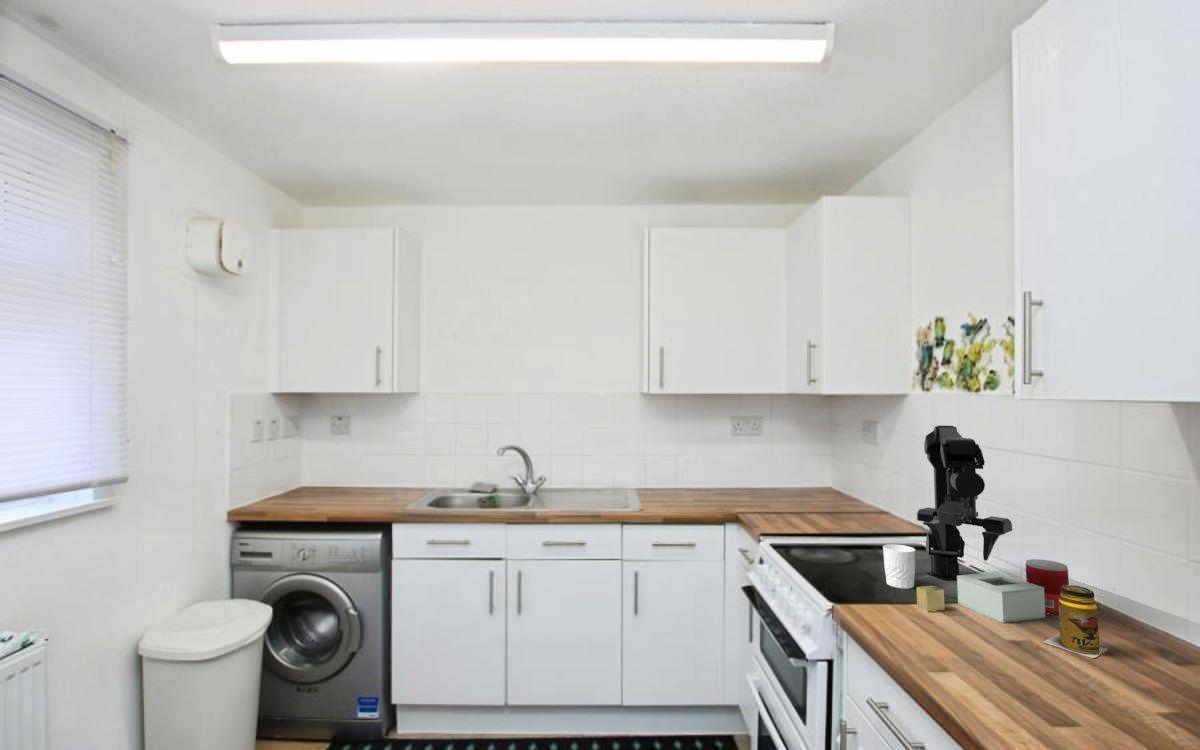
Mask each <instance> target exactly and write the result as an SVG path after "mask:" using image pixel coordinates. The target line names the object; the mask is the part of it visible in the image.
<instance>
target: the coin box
mask: <svg viewBox="0 0 1200 750" xmlns="http://www.w3.org/2000/svg"><path fill="white" fill-rule="evenodd" d="M956 583H957V584H956V585H957V586H956V589H957V604H958V605H959V606H962V607H964V608H966V609H968V610H971V611H973V612H975V613H978V614H980V615H983V616H986V617H988V618H990V619H993V620H995V621H997V622H1000V623H1003V624H1006V623H1008V624H1009V623H1015V622H1025V621H1033V619H1034V620H1042V619H1041V618H1043V619H1046V614H1045V597H1044V587H1041V586H1038V585H1035V584H1032V583H1029V582H1026V581H1025V580H1022V579H1019V578H1016V577H1014V576H1013V577H1012V576H1009V575H1008V574H1007V575H1006V574H1003V573H1000V572H997V571H994V572H985V573H984V572H982V573H971V574H959V575H958V576H957V579H956Z"/></svg>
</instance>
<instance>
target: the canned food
mask: <svg viewBox="0 0 1200 750" xmlns="http://www.w3.org/2000/svg"><path fill="white" fill-rule="evenodd" d="M1025 578H1026V581H1025V582H1029V583H1032V584H1035V585H1038V586H1041V587H1044V597H1045V613H1049V614H1048V615H1051V614H1054V615H1053V616H1059V599H1060V593H1061V590H1060V587H1061V586H1063V585H1070V583H1069V582H1070V581H1069V569H1068V565H1066V564H1064V563H1061V562H1057V561H1054V560H1047V559H1036V558H1034V559H1033V558H1032V559H1027V560H1026V559H1025Z"/></svg>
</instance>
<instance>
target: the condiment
mask: <svg viewBox="0 0 1200 750" xmlns="http://www.w3.org/2000/svg"><path fill="white" fill-rule="evenodd" d="M1060 590H1061V593H1060V599H1059V615H1058V617H1059V633H1056V634H1054V635H1053V636H1052V637H1050V638H1048V639H1045V640H1044V641H1042V643H1044V644H1048V645H1049V646H1054V647H1057V648H1059V649H1062V650H1066V651H1069V652H1071V653H1075V654H1078V655H1080V656H1084V657H1087V658H1091V659H1095V658H1098V657H1099V656H1101V655H1103V654H1104V653H1105V652H1106V651H1108V650H1109V649H1108V648H1106V647H1102V646H1101V645H1100V630H1099V619H1098V618H1099V609H1098V606H1097V605H1096V604H1097V603H1096V599H1095V593H1094V591H1093V590H1092V589H1089V588H1087V587H1083V586H1080V585H1073V584H1069V585H1063V586H1061V587H1060ZM1099 650H1100V651H1101V655H1100V654H1099V653H1100V651H1099ZM1102 652H1103V653H1102ZM1096 654H1097V655H1096Z"/></svg>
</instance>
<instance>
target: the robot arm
mask: <svg viewBox="0 0 1200 750" xmlns="http://www.w3.org/2000/svg"><path fill="white" fill-rule="evenodd" d="M923 445H924V446H923V448H924V454H925V455H926V458H927V461H928V462H929V463H930V465H931V466H932V468H933V481H934V482H933V485H934V486H933V487H934V488H933V490H934V493H933V494H934V508H933V507H924V508H920V509H918V511H917V512H916V518H917V519H916V520H917V521H919V522H922V524H923V525H924V526H927V527H928V529H929V531H928V533H927V534H926V538H925V539H926V541H925V550H926V553H927V554H928V555H929V556H930V567H931V570H929V571H926V574H928V575H931V576H932V577H935V578H938V579H941V580H943V581H949V580H957V576H958V575H960V567H959V566H960V564H959V559H958V558H960V559H962V558H963V557H965V545H966V544H965V543H966V542H965V540H964V539H963V536H962V535H961V531H960V530H959V529H958V527H960V526H962V525H963V524H964V525H968V526H975V527H976V526H977V527H982V529H984V531H982V532H981V535H982V537H983V544H982V545H983V547H982V549H983V551H982V555H983V556H982V557H983V561H988V560H989V558H990V555H991V553H992V550H993V549H994V546H995V544H996V542H997V541H998V539H999V537H1000V536H1003V535H1005V534H1007V533H1011V532H1013V523H1012V521H1011V520H1010V519H1009V518H1007V517H1006V518H1005V517H1001V516H993V515H992V516H988V517H984V518H981V517H979V512H978V511H977V502H976V501H977V500H978V499H979V498H978V496H980V495H981V494H982V493H983V492H984V491H985V489H986V488H985V487H986V486H985V485H986V484H985V480H984V478H983V477H982V476H981V474H978V473H977V472H976V470H984V466H985V459H984V456H983V451H982V449H981V447H980V445H979V444H978V443H976V441H975V439H972V438H967V437H963V436H962V435H961V434H960V433H959V432H958V429H957V427H956V426H954V425H937V426H934V429H933V430H932V431H931V432H930V433H927V434H926V435H925V439H924V444H923Z"/></svg>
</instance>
